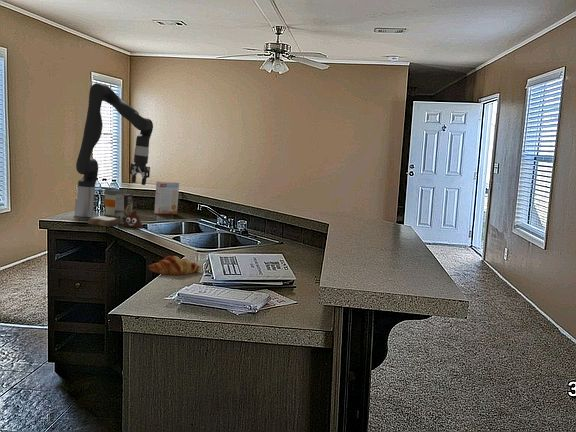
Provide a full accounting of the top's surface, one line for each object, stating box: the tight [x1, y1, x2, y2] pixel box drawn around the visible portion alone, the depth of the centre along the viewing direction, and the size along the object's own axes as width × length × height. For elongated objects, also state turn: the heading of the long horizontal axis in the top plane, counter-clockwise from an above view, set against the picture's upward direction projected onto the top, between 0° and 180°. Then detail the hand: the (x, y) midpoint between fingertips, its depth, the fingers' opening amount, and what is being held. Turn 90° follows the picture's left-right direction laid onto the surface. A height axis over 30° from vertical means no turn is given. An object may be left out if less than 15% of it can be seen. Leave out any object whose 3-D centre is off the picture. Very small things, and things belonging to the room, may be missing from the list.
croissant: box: [147, 255, 202, 276], centre depth 224 cm, size 21×10×8 cm, turn 124°
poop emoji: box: [123, 209, 143, 229], centre depth 321 cm, size 10×8×9 cm
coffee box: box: [113, 193, 134, 225], centre depth 330 cm, size 9×6×16 cm
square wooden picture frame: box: [87, 215, 121, 228], centre depth 320 cm, size 12×12×3 cm
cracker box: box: [153, 180, 180, 215], centre depth 386 cm, size 14×6×21 cm, turn 133°
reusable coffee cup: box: [103, 188, 127, 217], centre depth 359 cm, size 12×13×15 cm
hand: (138, 183), depth 330 cm, fingers open, 8 cm apart
